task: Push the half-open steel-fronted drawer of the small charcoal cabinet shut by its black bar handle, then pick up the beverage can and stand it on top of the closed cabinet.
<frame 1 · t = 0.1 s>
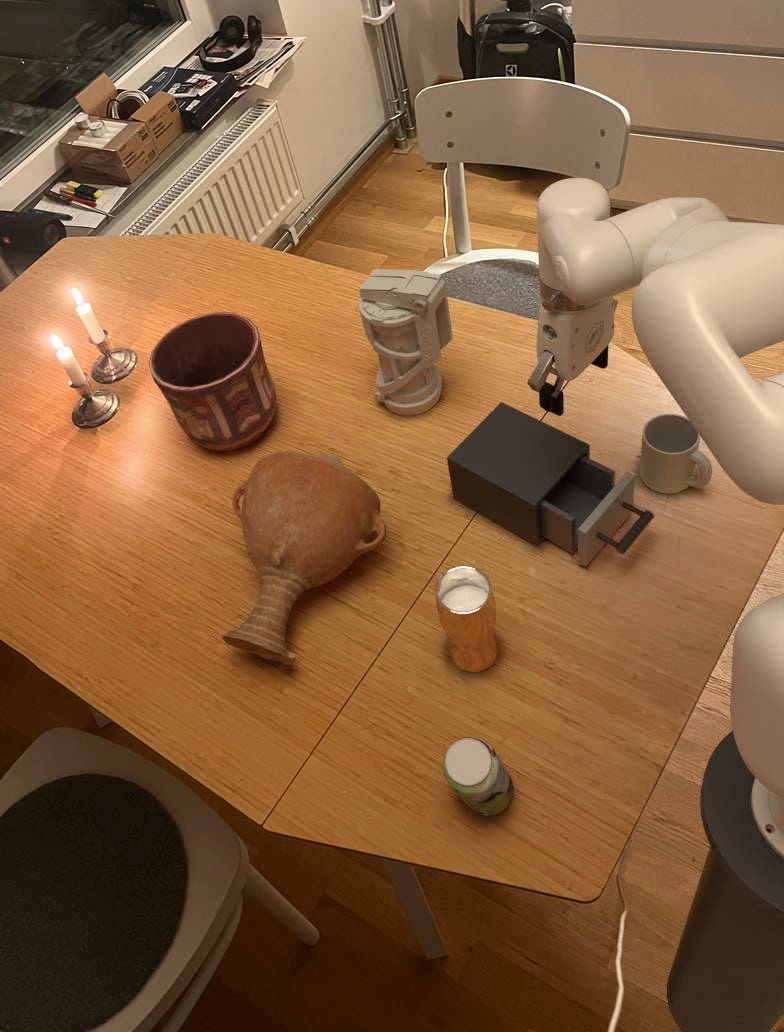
hand: (574, 386, 116), 20 cm above the table, tool pointing down, fingers open, 9 cm apart
beer glass: (473, 651, 118), on the table
pottery: (235, 426, 154), on the table
jug: (302, 580, 131), on the table
cabinet: (520, 493, 132), on the table
drawer: (579, 505, 123), point 5 cm above the table, slide at 6.0 cm
lantern: (418, 396, 150), on the table
cup: (675, 480, 128), on the table
beverage can: (482, 796, 106), on the table
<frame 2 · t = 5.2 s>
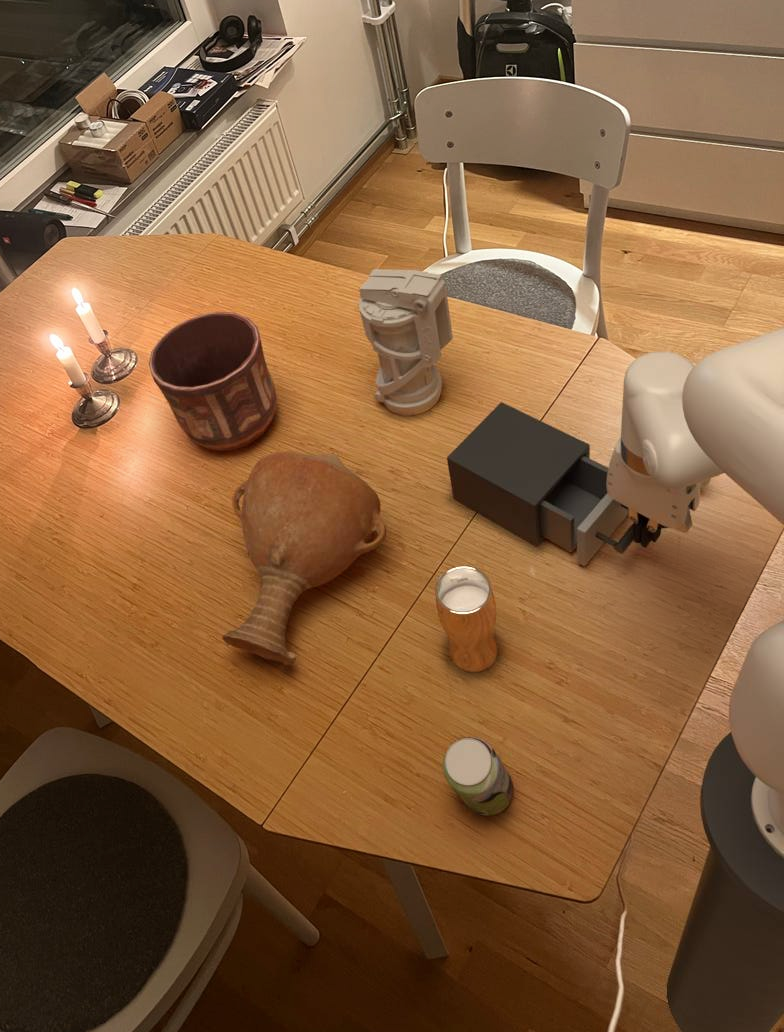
hand: (646, 537, 117), 5 cm above the table, tool pointing down, fingers closed
drawer: (578, 504, 123), point 5 cm above the table, slide at 5.8 cm, touching gripper
everything else where it was.
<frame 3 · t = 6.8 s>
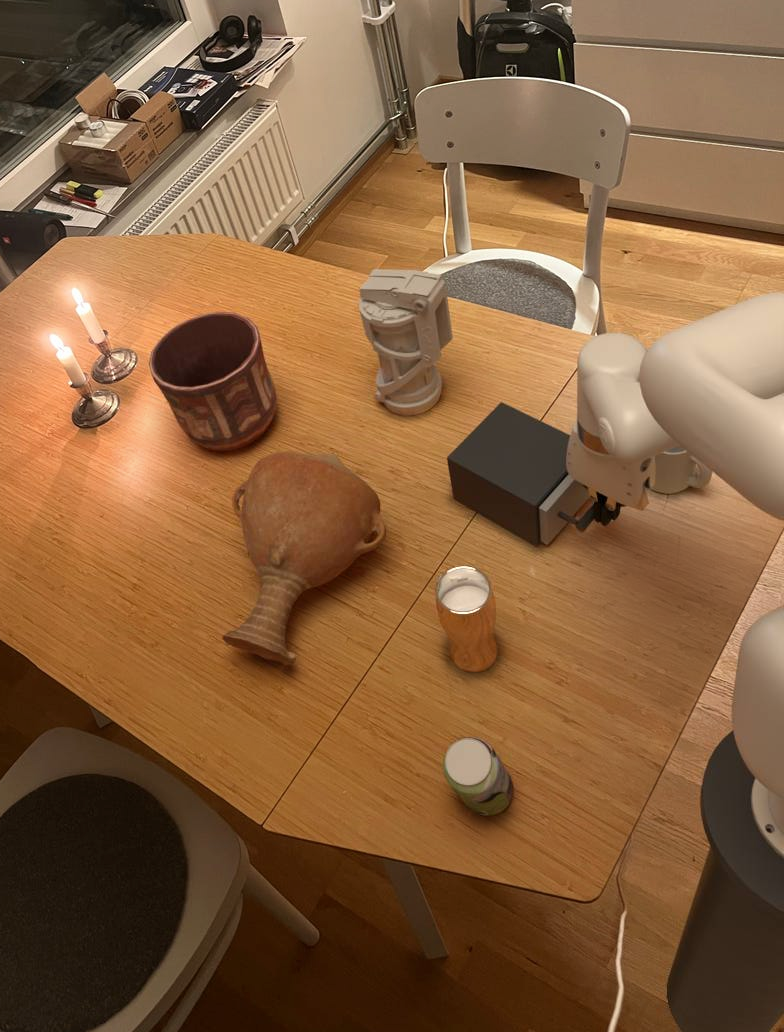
hand: (606, 516, 120), 5 cm above the table, tool pointing down, fingers closed
drawer: (542, 485, 126), point 5 cm above the table, slide at 0.1 cm, touching gripper
everything else where it was.
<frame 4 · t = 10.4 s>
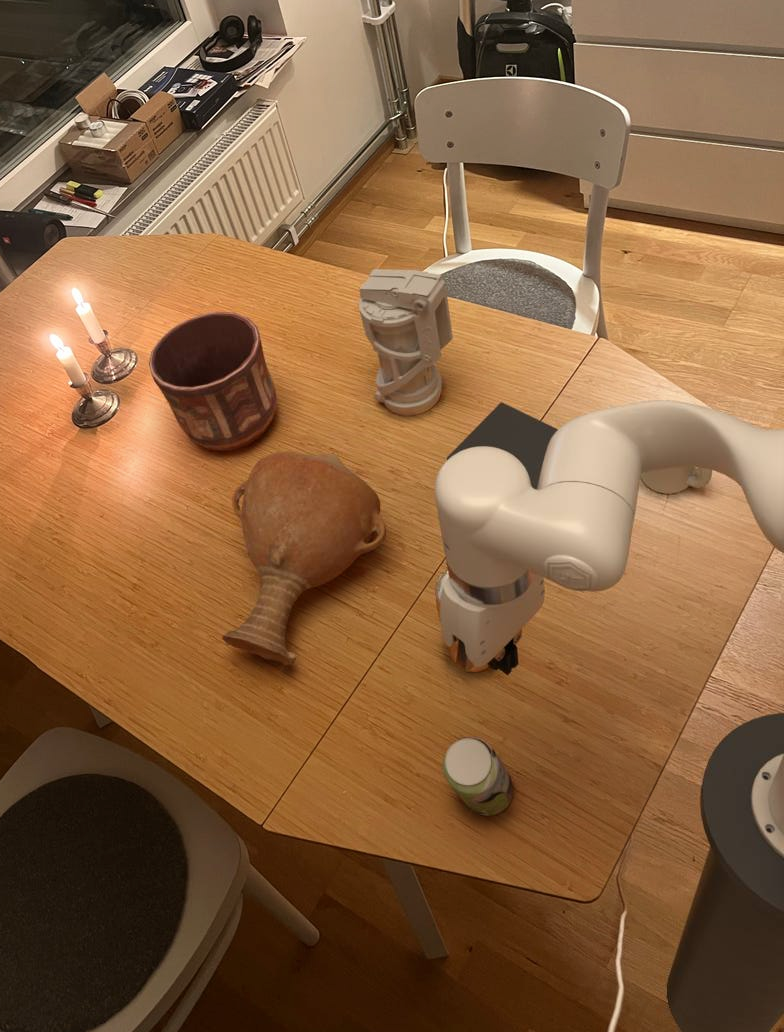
hand: (501, 661, 93), 22 cm above the table, tool pointing down, fingers closed
drawer: (542, 485, 126), point 5 cm above the table, slide at 0.1 cm
everything else where it was.
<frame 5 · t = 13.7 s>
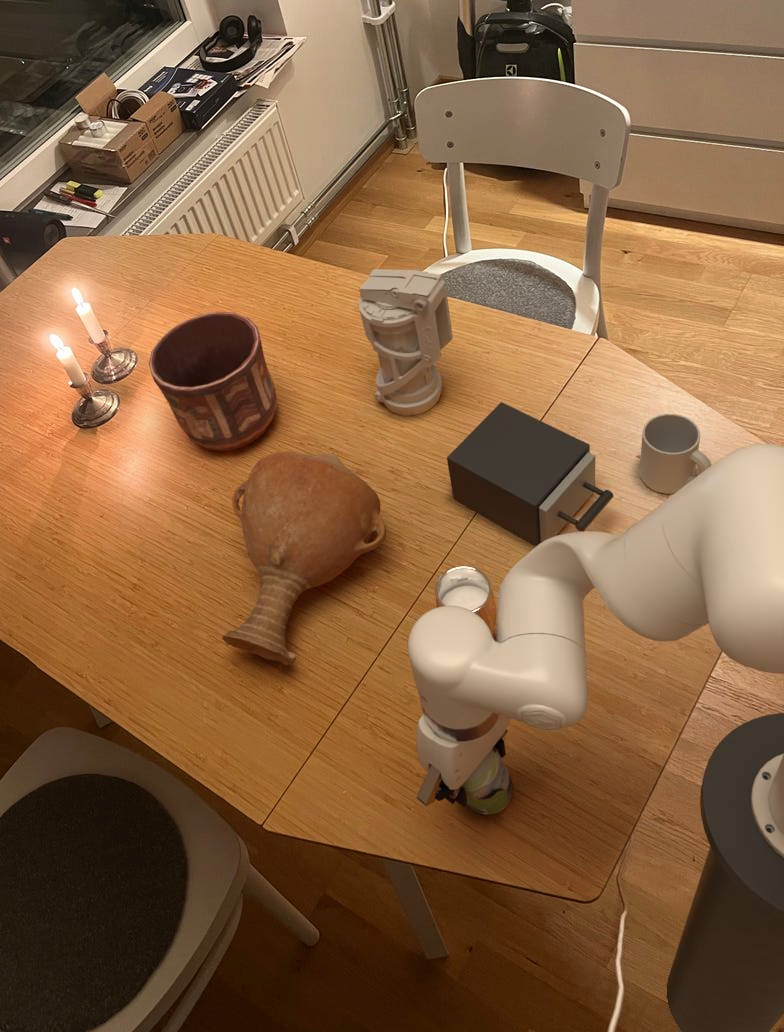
hand: (473, 771, 100), 7 cm above the table, tool pointing down, fingers closed on beverage can, 6 cm apart
beverage can: (482, 795, 105), on the table, touching gripper
everything else where it was.
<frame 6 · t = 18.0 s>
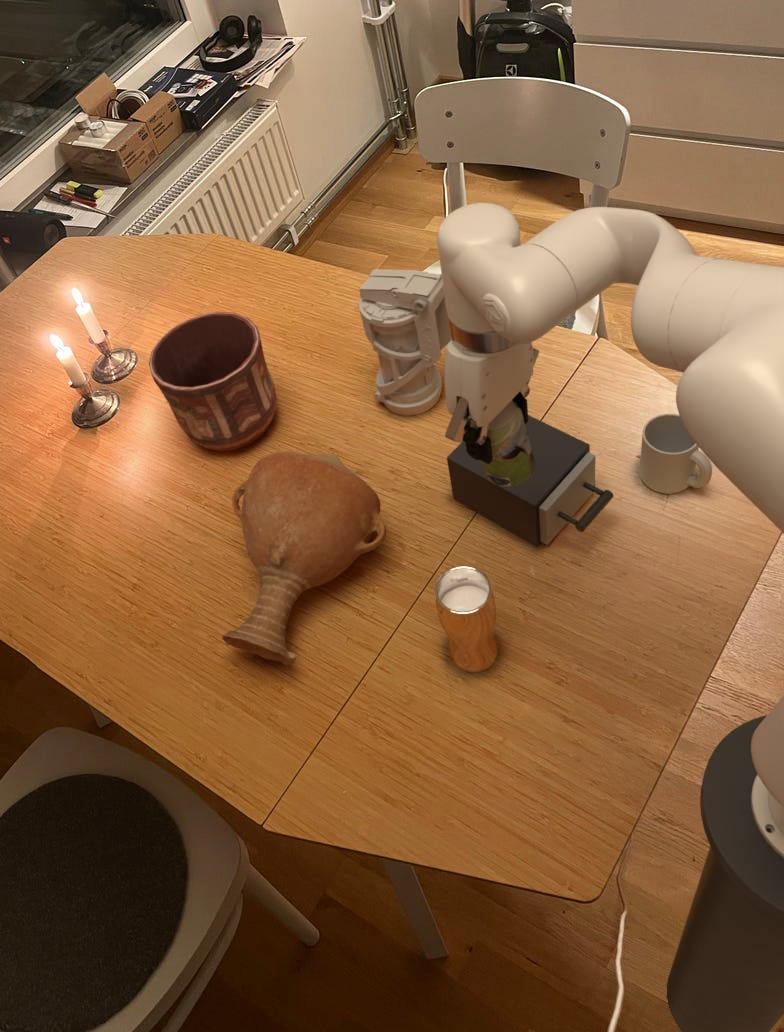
hand: (497, 437, 104), 28 cm above the table, tool pointing down, fingers closed on beverage can, 6 cm apart
beverage can: (505, 476, 109), point 20 cm above the table, touching gripper
everything else where it was.
when the fingers open (17 cm above the table, at t = 22.5 s): beverage can stays where it is, resting on cabinet.
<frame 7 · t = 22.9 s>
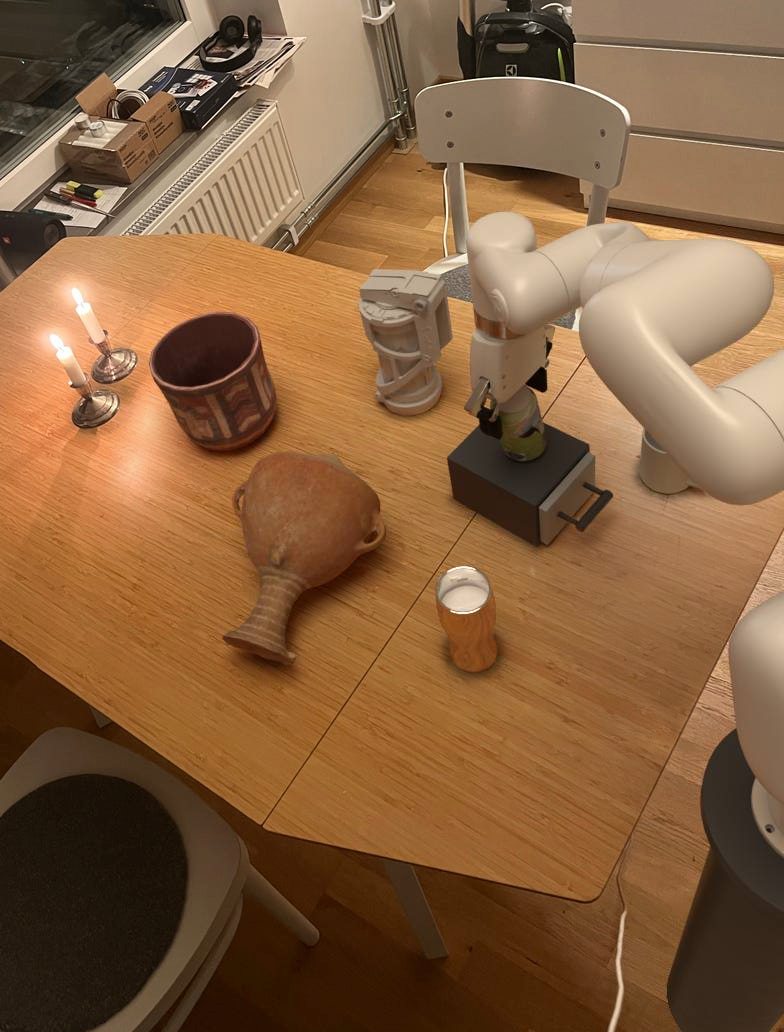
hand: (514, 410, 119), 18 cm above the table, tool pointing down, fingers open, 9 cm apart
beverage can: (521, 451, 125), point 9 cm above the table, touching cabinet
everything else where it was.
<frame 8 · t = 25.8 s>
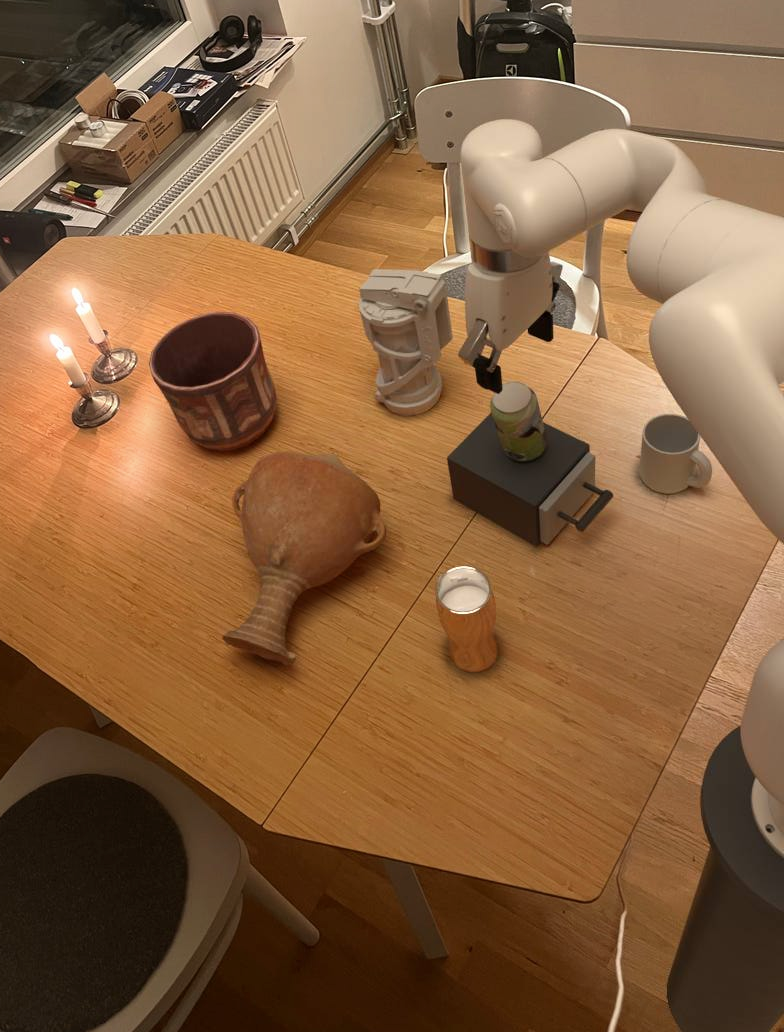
hand: (515, 361, 105), 32 cm above the table, tool pointing down, fingers open, 9 cm apart
nothing on the table moved.
at the end: drawer slide at 0.1 cm; beverage can inside the target area on the cabinet (0.6 cm from its centre), point 9.4 cm above the cabinet's base; beverage can tilted 0° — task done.
